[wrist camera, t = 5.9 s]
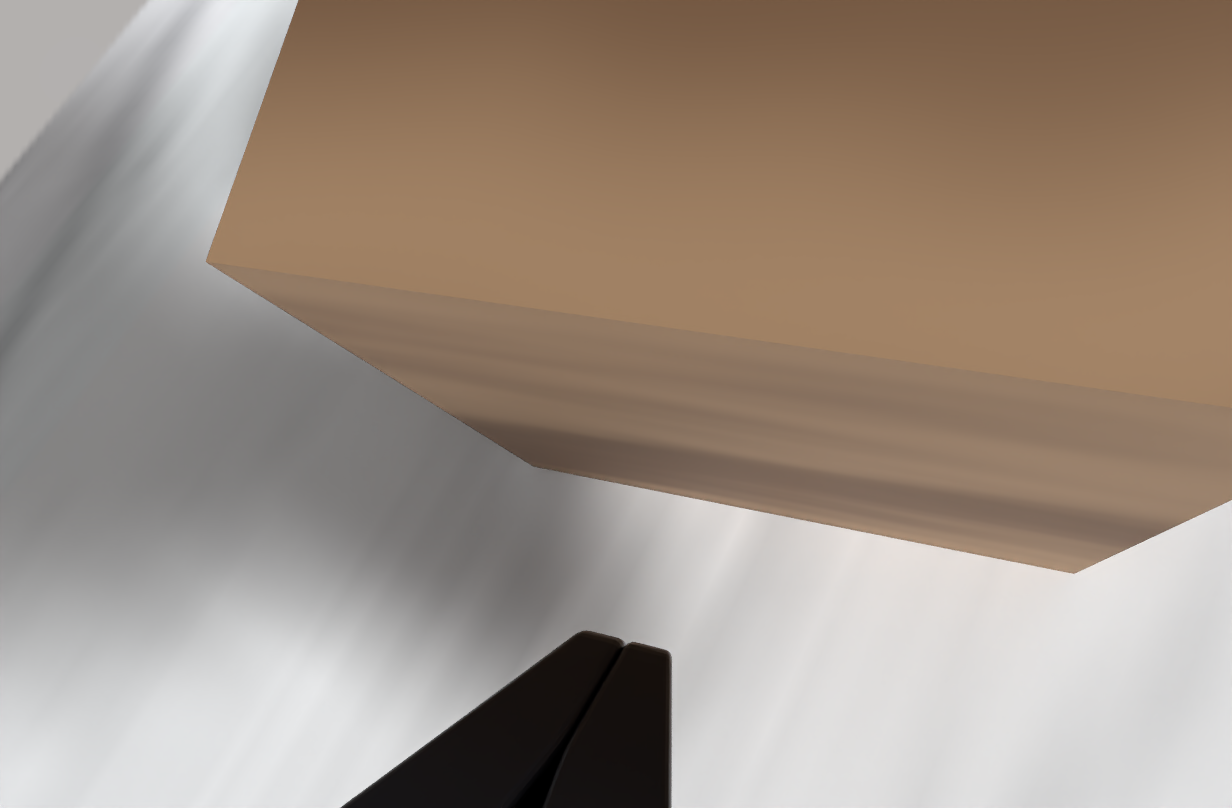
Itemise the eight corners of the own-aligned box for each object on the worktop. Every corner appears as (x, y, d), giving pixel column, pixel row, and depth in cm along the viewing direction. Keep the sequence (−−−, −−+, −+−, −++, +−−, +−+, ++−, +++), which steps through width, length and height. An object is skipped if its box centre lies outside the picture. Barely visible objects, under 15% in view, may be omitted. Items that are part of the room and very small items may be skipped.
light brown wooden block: (1073, 574, 16) (1382, 428, 6) (534, 466, 19) (205, 261, 9) (1101, 352, 16) (1410, -61, 7) (581, 284, 19) (324, -72, 10)
